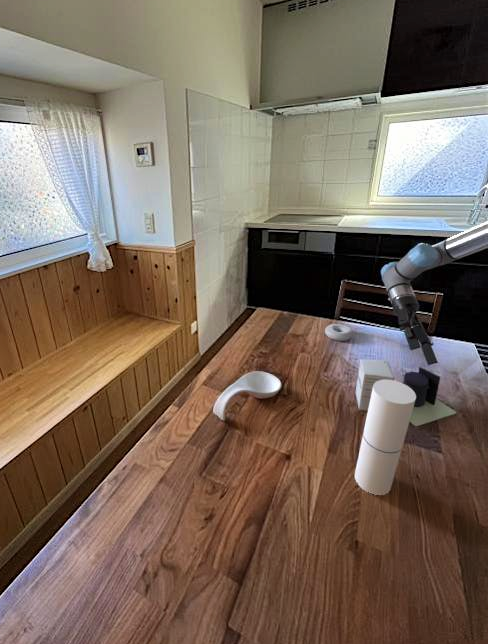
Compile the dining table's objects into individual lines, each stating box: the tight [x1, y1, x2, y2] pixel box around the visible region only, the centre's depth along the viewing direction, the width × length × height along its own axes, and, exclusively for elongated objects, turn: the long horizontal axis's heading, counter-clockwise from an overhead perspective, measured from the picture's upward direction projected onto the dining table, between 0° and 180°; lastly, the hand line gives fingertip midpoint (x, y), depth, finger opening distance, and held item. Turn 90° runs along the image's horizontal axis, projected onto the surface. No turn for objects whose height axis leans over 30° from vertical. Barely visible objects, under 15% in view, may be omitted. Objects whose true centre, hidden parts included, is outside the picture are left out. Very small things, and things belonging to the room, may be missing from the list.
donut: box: [324, 323, 354, 342], centre depth 131 cm, size 10×4×10 cm
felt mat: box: [409, 398, 458, 428], centre depth 96 cm, size 14×14×1 cm
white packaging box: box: [355, 358, 395, 412], centre depth 94 cm, size 7×7×13 cm
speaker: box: [403, 367, 441, 407], centre depth 94 cm, size 8×6×10 cm
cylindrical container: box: [354, 379, 416, 497], centre depth 70 cm, size 7×7×25 cm
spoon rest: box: [212, 370, 282, 422], centre depth 99 cm, size 24×12×7 cm, turn 127°
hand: (424, 356), depth 104 cm, fingers open, 13 cm apart
